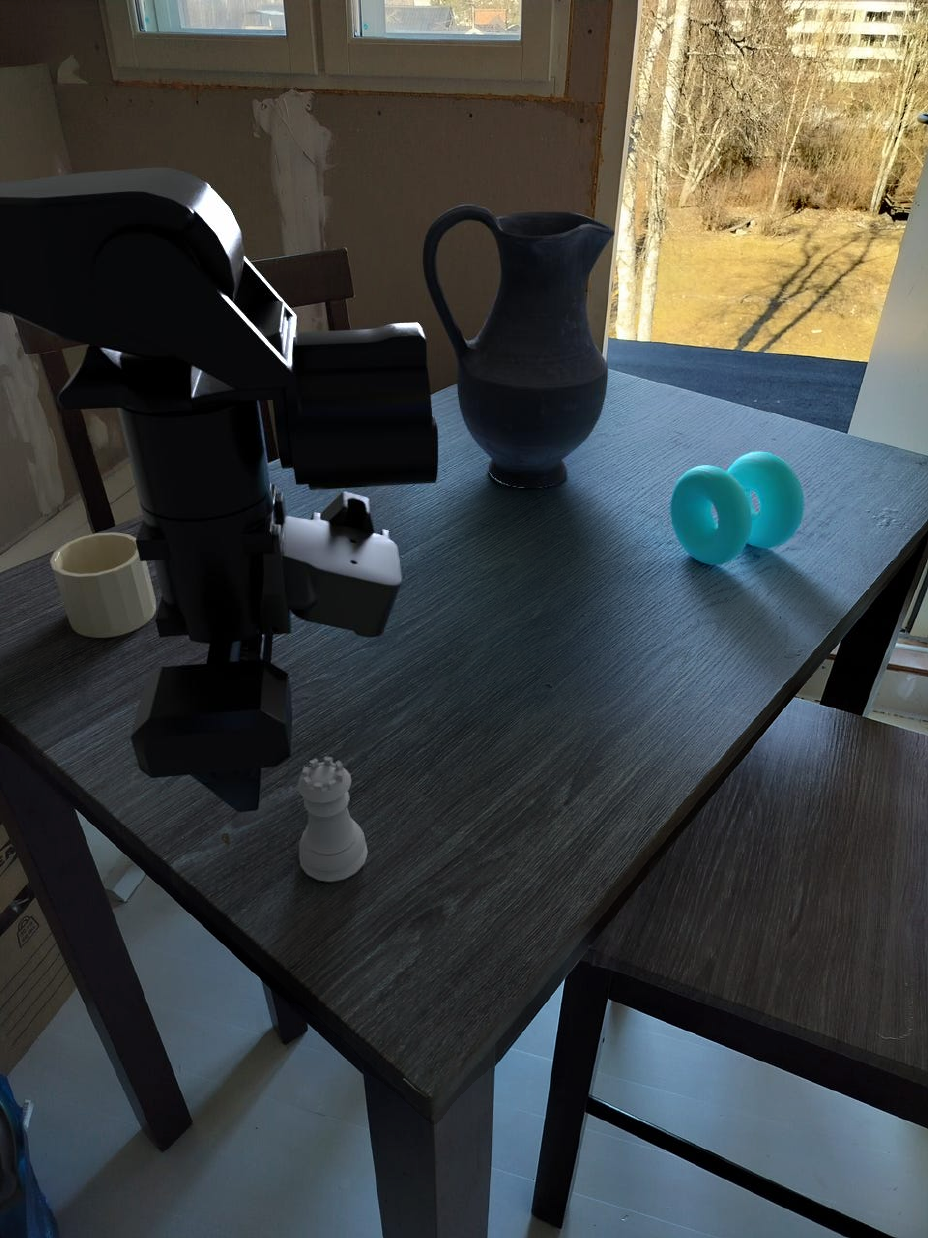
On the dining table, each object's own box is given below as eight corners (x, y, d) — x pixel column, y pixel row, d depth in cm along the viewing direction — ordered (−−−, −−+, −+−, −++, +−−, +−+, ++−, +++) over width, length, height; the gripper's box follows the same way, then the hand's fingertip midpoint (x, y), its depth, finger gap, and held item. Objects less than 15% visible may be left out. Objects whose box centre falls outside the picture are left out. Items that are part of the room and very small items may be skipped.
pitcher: (614, 500, 98) (648, 216, 81) (436, 512, 95) (431, 222, 78) (575, 440, 112) (597, 187, 95) (419, 449, 109) (411, 191, 92)
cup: (60, 641, 75) (40, 579, 72) (80, 594, 81) (62, 535, 78) (149, 634, 76) (133, 573, 72) (162, 588, 82) (148, 529, 79)
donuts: (658, 540, 90) (671, 453, 85) (728, 519, 94) (746, 434, 89) (723, 585, 83) (743, 493, 78) (797, 560, 87) (821, 471, 81)
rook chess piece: (354, 823, 58) (345, 737, 54) (378, 871, 55) (371, 783, 50) (291, 846, 57) (276, 759, 52) (312, 896, 53) (298, 808, 49)
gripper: (401, 591, 31) (414, 867, 40) (376, 406, 46) (389, 636, 55) (87, 613, 30) (172, 893, 39) (166, 415, 45) (215, 649, 54)
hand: (254, 746), depth 47 cm, fingers open, 9 cm apart
